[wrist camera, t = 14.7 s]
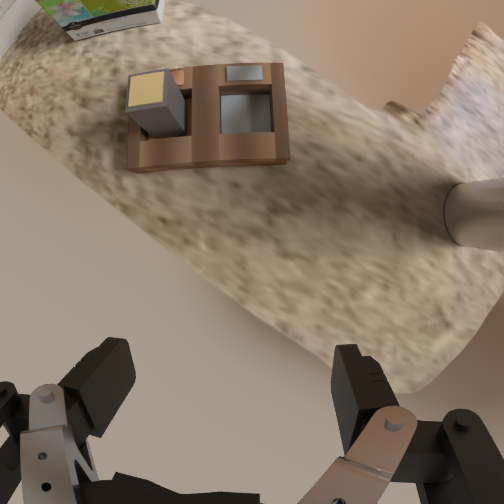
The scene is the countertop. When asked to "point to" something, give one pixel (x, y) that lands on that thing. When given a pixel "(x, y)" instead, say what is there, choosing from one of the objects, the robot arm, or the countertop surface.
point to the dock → (220, 120)
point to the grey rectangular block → (157, 104)
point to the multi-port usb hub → (14, 20)
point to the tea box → (102, 15)
